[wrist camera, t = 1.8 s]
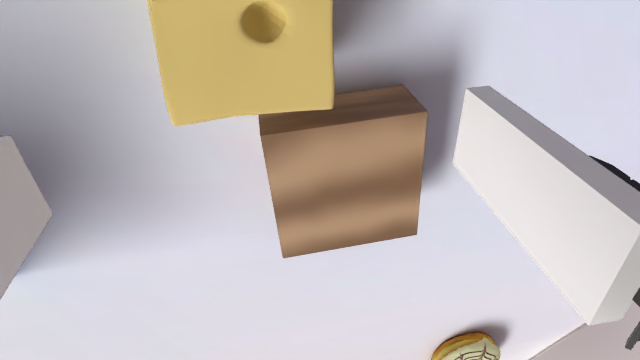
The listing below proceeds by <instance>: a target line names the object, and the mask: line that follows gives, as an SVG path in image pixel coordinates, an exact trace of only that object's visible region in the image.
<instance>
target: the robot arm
mask: <svg viewBox="0 0 640 360" xmlns="http://www.w3.org/2000/svg"><path fill="white" fill-rule="evenodd" d="M453 165H454V166H455V167H456V168H457V169H458V171H459V172H460V173H461V174H462V175H463V177H464V178H465V179H466V180H467V181H468V183H469V184H470V185H471V186H472V187H473V188H474V190H475V191H476V192H477V193H478V194H479V196H480V197H481V198H482V199H483V200H484V202H485V203H486V204H487V205H488V206H489V208H490V209H491V210H492V211H493V212H494V214H495V215H496V216H497V217H498V218H499V219H500V221H501V222H502V223H503V224H504V225H505V227H506V228H507V229H508V230H509V231H510V233H511V234H512V235H513V236H514V237H515V239H516V240H517V241H518V242H519V243H520V244H521V246H522V247H523V248H524V249H525V250H526V252H527V253H528V254H529V255H530V256H531V258H532V259H533V260H534V261H535V262H536V264H537V265H538V266H539V267H540V268H541V270H542V271H543V272H544V273H545V274H546V275H547V277H548V278H549V279H550V280H551V281H552V283H553V284H554V285H555V286H556V287H557V289H558V290H559V291H560V292H561V293H562V295H563V296H564V297H565V298H566V299H567V301H568V302H569V303H570V304H571V305H572V306H573V308H574V309H575V310H576V311H577V312H578V314H579V315H580V316H581V317H582V318H583V320H584V321H585V322H586V323H587V324H588V326H590V325H595V324H601V323H606V322H612V321H617V320H621V319H622V317H623V316H624V314H625V313H626V311H627V309H628V308H629V306H630V305H631V303H632V301H634V302H635V303H636V304H637V305H638V306H639V307H640V184H639V183H638V182H636V181H635V180H630V177H629V176H628V175H626V174H625V173H623V172H622V171H620V170H619V169H617V168H616V167H615V166H613V165H611V164H609V163H606V162H604V161H602V160H599V159H597V158H595V157H592V156H590V155H589V156H588V155H587V154H585V153H584V152H582V151H581V150H579V149H578V148H577V147H575V146H574V145H572V144H571V143H569V142H568V141H567V140H565V139H564V138H562V137H561V136H560V135H558V134H557V133H555V132H554V131H552V130H551V129H550V128H548V127H547V126H545V125H544V124H543V123H541V122H540V121H538V120H537V119H535V118H534V117H533V116H531V115H530V114H528V113H527V112H526V111H524V110H523V109H521V108H520V107H518V106H517V105H516V104H514V103H513V102H511V101H510V100H509V99H507V98H506V97H504V96H503V95H501V94H500V93H499V92H497V91H496V90H494V89H493V88H492V87H490V86H483V87H473V88H466V91H465V97H464V102H463V108H462V114H461V119H460V125H459V131H458V136H457V142H456V148H455V153H454V159H453ZM52 215H53V213H52V212H51V210H50V208H49V206H48V204H47V202H46V200H45V199H44V197H43V195H42V193H41V191H40V189H39V187H38V186H37V184H36V182H35V180H34V178H33V176H32V174H31V173H30V171H29V169H28V167H27V165H26V163H25V161H24V160H23V158H22V156H21V154H20V152H19V150H18V148H17V147H16V145H15V143H14V141H13V139H12V137H11V135H10V136H1V137H0V299H1V298H2V296H3V295H4V293H5V291H6V290H7V288H8V286H9V285H10V283H11V281H12V280H13V278H14V277H15V275H16V273H17V272H18V270H19V268H20V267H21V265H22V264H23V262H24V260H25V259H26V257H27V255H28V254H29V252H30V250H31V249H32V247H33V246H34V244H35V242H36V241H37V239H38V237H39V236H40V234H41V233H42V231H43V229H44V228H45V226H46V224H47V223H48V221H49V220H50V218H51V216H52ZM637 341H640V322H639V323H638V325H637V326H636V328H635V329H634V331H633V332H632V334H631V335H630V337H629V338H628V340H627V342H626V346H625V348H627V349H630V350H631V349H632V348H633V346H634V345H635V344H636V342H637Z"/></svg>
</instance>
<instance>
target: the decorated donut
mask: <svg viewBox="0 0 640 360" xmlns="http://www.w3.org/2000/svg"><path fill="white" fill-rule="evenodd" d="M499 359H500V350H499V348H498V347H497V345H496V344H495V342H494V340H493V339H492V338H491V337H490V336H489V335H486V334H483V333H472V334H471V333H467V334H465V335H462V336H457V337H455V338H453V339H451V340H448V341H446V342H444V343H443V344H442V345H441V346H440V347H439V348H438V349H437V350H436V351H435V352H434V354H433V356H432V358H431V360H499Z"/></svg>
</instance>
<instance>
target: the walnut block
mask: <svg viewBox="0 0 640 360" xmlns="http://www.w3.org/2000/svg"><path fill="white" fill-rule="evenodd" d="M427 112H428V111H427V110H426V109H425V108H424V107H423V106H422V105H421V104H420V103H419V102H418V101H417V99H416V98H415V97H414V96H413V95H412V94H411V93H410V92H409V91H408V90H407V89H406V88H405V86H404V85H398V86H391V87H384V88H376V89H369V90H362V91H355V92H348V93H341V94H334V105H333V108H332V109H326V110H308V111H293V112H281V113H269V114H258V115H259V125H260V136H261V141H262V147H263V152H264V158H265V163H266V169H267V174H268V179H269V185H270V190H271V196H272V201H273V207H274V212H275V218H276V223H277V228H278V234H279V239H280V245H281V250H282V256H283V258H288V257H293V256H299V255H305V254H310V253H316V252H322V251H327V250H333V249H339V248H344V247H350V246H356V245H361V244H367V243H373V242H378V241H384V240H390V239H395V238H401V237H407V236H412V235H417V227H418V215H419V204H420V192H421V181H422V169H423V158H424V146H425V135H426V123H427Z"/></svg>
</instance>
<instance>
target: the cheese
mask: <svg viewBox="0 0 640 360" xmlns="http://www.w3.org/2000/svg"><path fill="white" fill-rule="evenodd" d="M147 1H148V7H149V14H150V19H151V24H152V29H153V34H154V39H155V45H156V50H157V56H158V62H159V68H160V75H161V81H162V87H163V92H164V96H165V100H166V105H167V108H168V112H169V115H170V118H171V121H172V124H173V125H175V126H180V125H187V124H194V123H199V122H205V121H210V120H215V119H221V118H227V117H234V116H245V115H257V114H269V113H281V112H293V111H308V110H326V109H332V108H333V105H334V90H335V73H334V52H333V0H147Z"/></svg>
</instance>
